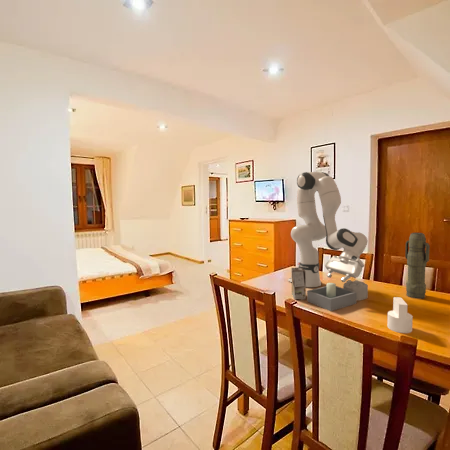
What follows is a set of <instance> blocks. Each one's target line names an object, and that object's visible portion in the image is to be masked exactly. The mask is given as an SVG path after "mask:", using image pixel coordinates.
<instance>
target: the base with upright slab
mask: <svg viewBox="0 0 450 450" xmlns="http://www.w3.org/2000/svg"><path fill="white" fill-rule="evenodd" d="M392 300H393V302H392V304H393V305H392V310H388V311H387V322H386V323H387V328H388V329H389V330H390V331H392V332H396V333H400V334H411V333H412V332H413V317H414V316H413V315H412V314H411V313H409V312H408V304H407V302H406V301H405V300H404V299H403V298H402V297H398V296H396V297H395V296H394V297H393V299H392Z"/></svg>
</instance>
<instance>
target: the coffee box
mask: <svg viewBox="0 0 450 450" xmlns="http://www.w3.org/2000/svg"><path fill="white" fill-rule="evenodd" d="M298 267H299V266H298ZM298 267H291V273H290V274H292V283H291V296H292V295H293V296H292V297H293V299H294V300H295V299H301V300H307V299H306V298H307V292H306V290H307V289H306V288H307V287H306V276H305V270H304V269H303V268H302V267H301V268H300V267H299V268H298Z"/></svg>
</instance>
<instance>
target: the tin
mask: <svg viewBox="0 0 450 450" xmlns="http://www.w3.org/2000/svg"><path fill="white" fill-rule="evenodd" d="M326 286H327V297H328V298H334V297H336V286H337V285H336V283H333V282H327V283H326Z"/></svg>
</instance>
